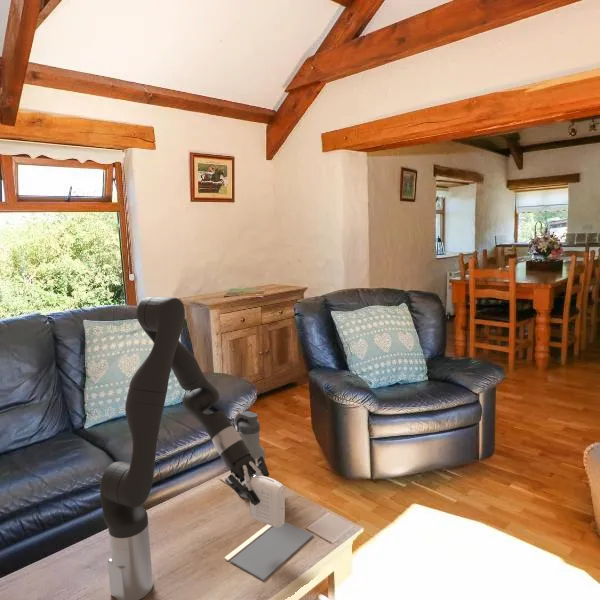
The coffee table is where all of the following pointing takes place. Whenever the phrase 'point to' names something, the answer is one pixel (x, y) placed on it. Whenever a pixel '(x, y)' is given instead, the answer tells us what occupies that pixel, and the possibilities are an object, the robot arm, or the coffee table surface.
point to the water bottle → (250, 435)
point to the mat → (269, 549)
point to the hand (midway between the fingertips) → (263, 499)
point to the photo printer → (268, 501)
